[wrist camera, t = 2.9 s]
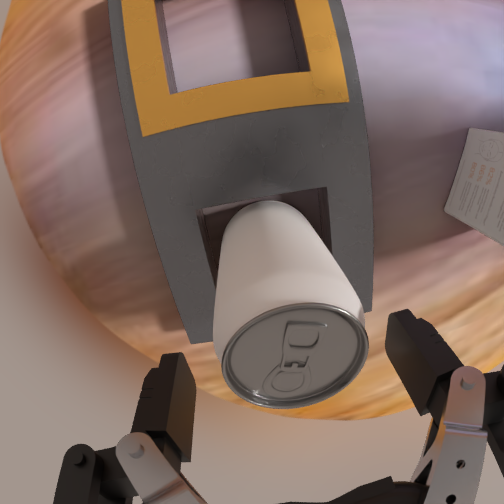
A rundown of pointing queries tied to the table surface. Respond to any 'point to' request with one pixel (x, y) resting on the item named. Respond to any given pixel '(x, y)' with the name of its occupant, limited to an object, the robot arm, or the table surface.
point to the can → (284, 311)
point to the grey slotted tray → (245, 146)
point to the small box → (480, 184)
